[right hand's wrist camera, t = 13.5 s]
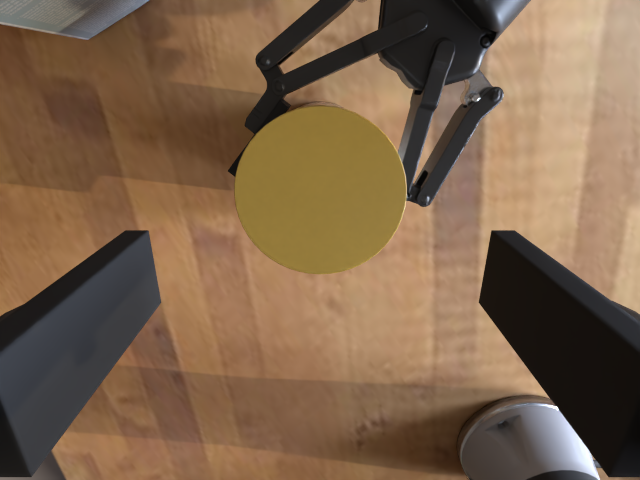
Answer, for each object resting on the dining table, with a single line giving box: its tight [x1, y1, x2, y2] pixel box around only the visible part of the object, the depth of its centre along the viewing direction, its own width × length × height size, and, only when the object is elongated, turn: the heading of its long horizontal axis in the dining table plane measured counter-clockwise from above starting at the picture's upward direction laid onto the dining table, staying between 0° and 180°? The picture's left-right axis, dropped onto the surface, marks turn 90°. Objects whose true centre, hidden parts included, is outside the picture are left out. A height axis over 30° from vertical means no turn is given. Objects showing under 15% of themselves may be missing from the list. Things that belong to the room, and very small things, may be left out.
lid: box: [234, 105, 407, 274], centre depth 22 cm, size 10×10×2 cm
